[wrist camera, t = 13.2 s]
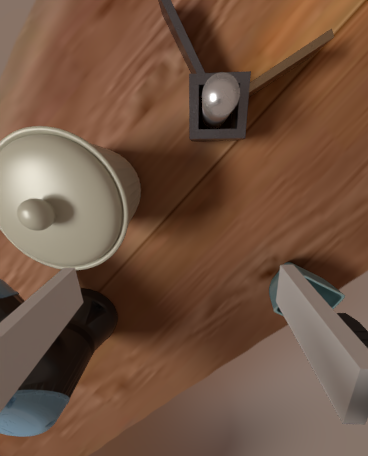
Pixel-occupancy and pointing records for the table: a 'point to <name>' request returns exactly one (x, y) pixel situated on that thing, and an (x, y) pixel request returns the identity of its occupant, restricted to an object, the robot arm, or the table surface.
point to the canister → (64, 197)
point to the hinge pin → (219, 98)
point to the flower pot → (319, 285)
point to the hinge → (243, 78)
